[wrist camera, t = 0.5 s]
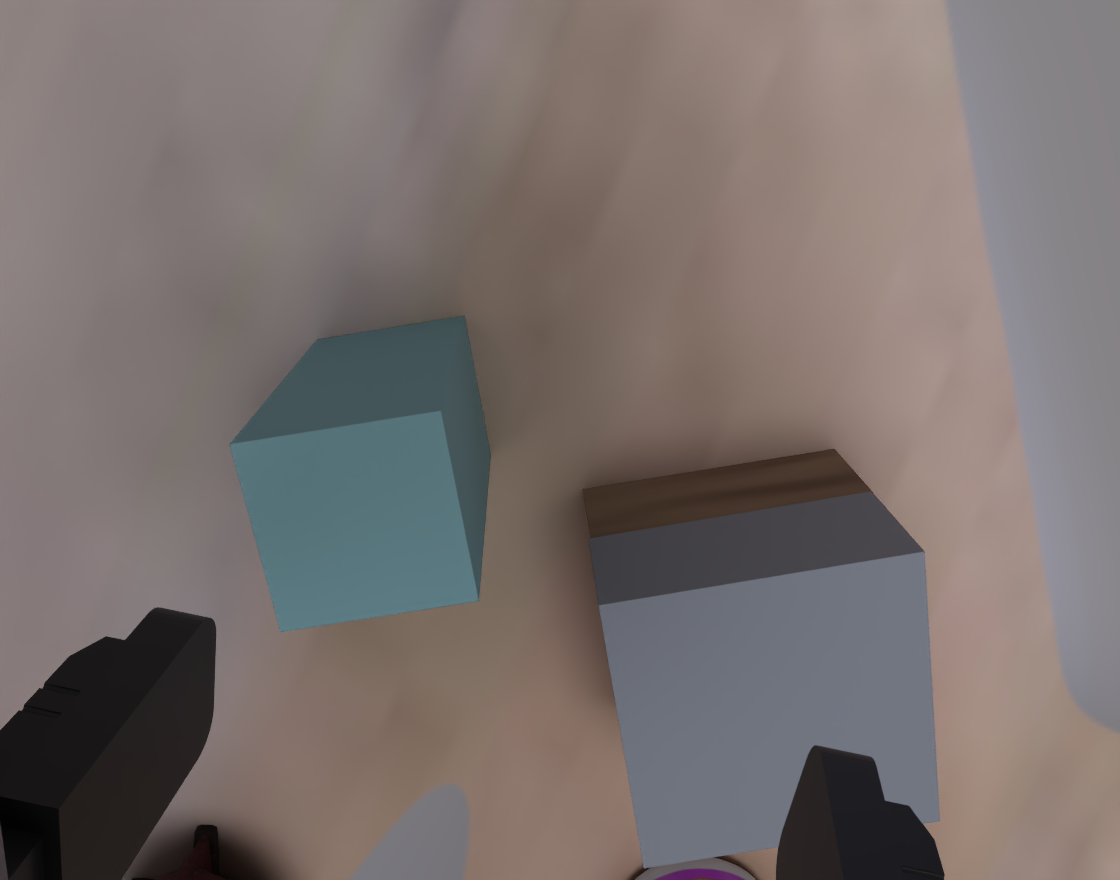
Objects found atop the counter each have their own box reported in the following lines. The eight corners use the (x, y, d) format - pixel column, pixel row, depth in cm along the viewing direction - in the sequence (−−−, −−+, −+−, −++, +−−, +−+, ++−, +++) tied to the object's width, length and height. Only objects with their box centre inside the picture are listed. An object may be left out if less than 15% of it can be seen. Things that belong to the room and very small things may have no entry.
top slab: (588, 538, 33) (598, 605, 28) (871, 491, 32) (924, 551, 28) (629, 775, 35) (643, 868, 31) (889, 733, 35) (939, 821, 31)
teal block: (317, 339, 35) (229, 444, 24) (464, 315, 34) (440, 410, 24) (349, 477, 36) (280, 631, 26) (490, 455, 36) (478, 600, 26)
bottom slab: (582, 486, 37) (590, 537, 33) (832, 446, 37) (873, 492, 32) (616, 702, 40) (628, 775, 35) (849, 665, 40) (888, 734, 35)
